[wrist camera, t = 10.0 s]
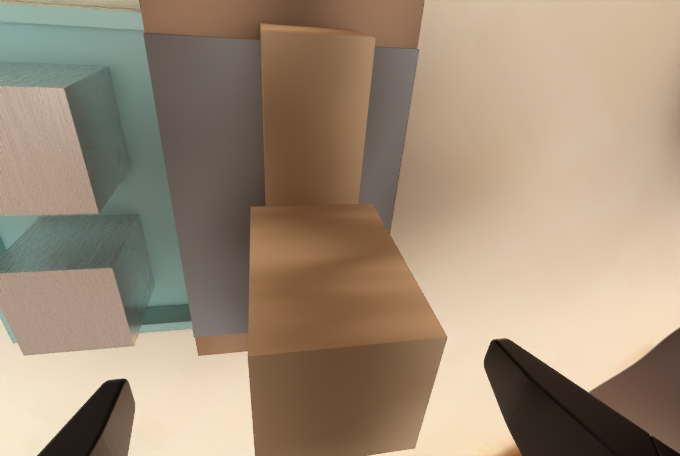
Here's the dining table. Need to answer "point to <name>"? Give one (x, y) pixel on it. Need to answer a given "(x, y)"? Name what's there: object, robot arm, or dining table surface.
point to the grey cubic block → (76, 283)
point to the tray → (137, 122)
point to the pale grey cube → (59, 139)
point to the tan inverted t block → (329, 267)
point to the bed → (255, 131)
